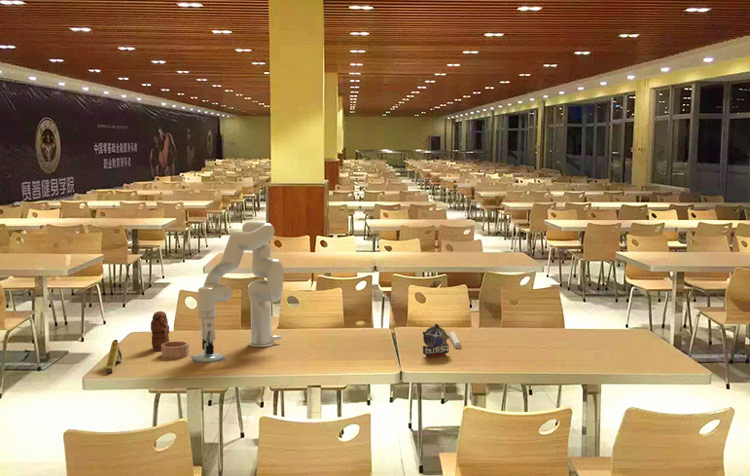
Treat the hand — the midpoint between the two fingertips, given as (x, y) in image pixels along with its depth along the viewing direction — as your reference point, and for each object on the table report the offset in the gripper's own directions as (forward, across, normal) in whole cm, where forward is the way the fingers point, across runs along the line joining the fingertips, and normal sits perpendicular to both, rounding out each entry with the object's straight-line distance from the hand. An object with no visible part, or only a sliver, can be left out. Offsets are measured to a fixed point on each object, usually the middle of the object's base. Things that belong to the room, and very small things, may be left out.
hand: (207, 351), depth 374 cm
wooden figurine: (+4, +29, +17) cm, 34 cm away
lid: (+3, 0, 0) cm, 3 cm away
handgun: (+4, +2, +40) cm, 41 cm away
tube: (+4, -14, -118) cm, 119 cm away
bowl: (+4, +12, +13) cm, 18 cm away
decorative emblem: (+4, -35, -97) cm, 103 cm away
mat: (+4, 0, 0) cm, 4 cm away
